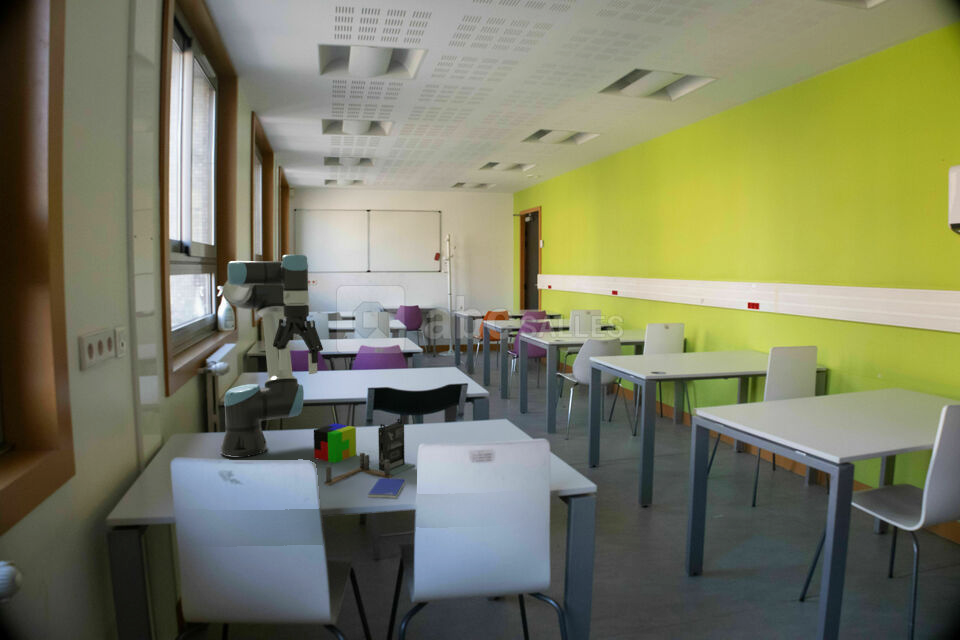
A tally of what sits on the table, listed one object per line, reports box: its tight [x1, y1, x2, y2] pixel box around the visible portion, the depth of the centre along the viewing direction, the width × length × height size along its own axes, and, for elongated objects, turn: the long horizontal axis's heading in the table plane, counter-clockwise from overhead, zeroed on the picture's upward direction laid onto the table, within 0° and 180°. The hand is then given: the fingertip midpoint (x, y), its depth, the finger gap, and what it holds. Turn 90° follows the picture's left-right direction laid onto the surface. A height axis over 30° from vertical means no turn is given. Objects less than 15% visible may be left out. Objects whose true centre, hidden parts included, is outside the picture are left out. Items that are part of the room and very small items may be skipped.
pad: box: [369, 461, 416, 477], centre depth 189 cm, size 11×11×1 cm
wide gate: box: [324, 452, 366, 486], centre depth 181 cm, size 2×16×6 cm, turn 148°
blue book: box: [367, 477, 406, 499], centre depth 171 cm, size 2×8×12 cm
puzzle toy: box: [313, 423, 357, 464], centre depth 200 cm, size 10×10×10 cm
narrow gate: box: [362, 454, 392, 479], centre depth 183 cm, size 2×10×6 cm, turn 58°
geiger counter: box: [377, 418, 406, 471], centre depth 189 cm, size 10×4×15 cm, turn 145°
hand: (298, 371), depth 182 cm, fingers open, 13 cm apart
